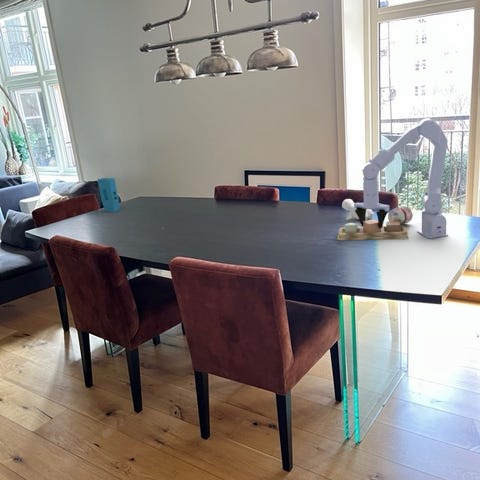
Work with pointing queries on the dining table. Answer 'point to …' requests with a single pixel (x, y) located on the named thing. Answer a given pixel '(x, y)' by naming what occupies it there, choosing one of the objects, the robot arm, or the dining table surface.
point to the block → (108, 194)
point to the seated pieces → (389, 226)
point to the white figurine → (349, 206)
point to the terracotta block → (371, 226)
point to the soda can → (400, 215)
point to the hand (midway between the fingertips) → (371, 226)
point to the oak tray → (372, 234)
